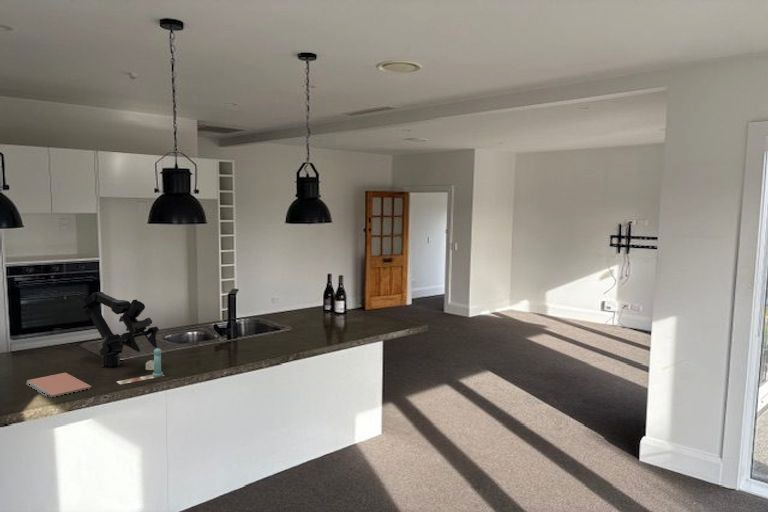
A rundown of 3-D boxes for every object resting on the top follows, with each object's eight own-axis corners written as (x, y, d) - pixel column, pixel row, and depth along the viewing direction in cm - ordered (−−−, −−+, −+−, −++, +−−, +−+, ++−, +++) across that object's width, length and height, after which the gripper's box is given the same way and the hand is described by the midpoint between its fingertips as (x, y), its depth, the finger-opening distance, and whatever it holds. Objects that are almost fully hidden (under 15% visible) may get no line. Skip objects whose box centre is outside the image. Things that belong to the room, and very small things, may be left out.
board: (119, 388, 238) (119, 385, 238) (114, 384, 242) (114, 381, 242) (166, 378, 252) (166, 375, 252) (160, 375, 257) (160, 372, 257)
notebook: (24, 384, 239) (24, 380, 239) (65, 376, 253) (65, 371, 252) (48, 400, 223) (48, 395, 222) (91, 390, 236) (91, 385, 236)
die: (145, 372, 260) (145, 362, 259) (149, 369, 264) (149, 360, 264) (155, 372, 260) (155, 363, 259) (158, 369, 264) (158, 360, 264)
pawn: (151, 376, 250) (150, 349, 249) (154, 373, 254) (154, 347, 253) (160, 376, 250) (160, 349, 249) (164, 373, 255) (164, 347, 254)
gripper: (122, 316, 247) (138, 343, 243) (156, 309, 263) (172, 335, 259) (111, 330, 251) (127, 357, 247) (145, 323, 268) (161, 348, 264)
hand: (147, 349), depth 254 cm, fingers open, 9 cm apart
